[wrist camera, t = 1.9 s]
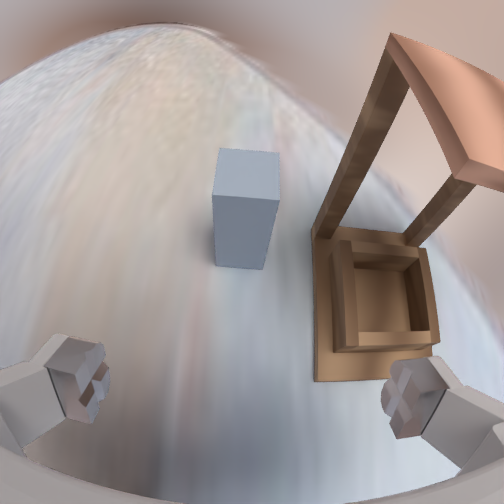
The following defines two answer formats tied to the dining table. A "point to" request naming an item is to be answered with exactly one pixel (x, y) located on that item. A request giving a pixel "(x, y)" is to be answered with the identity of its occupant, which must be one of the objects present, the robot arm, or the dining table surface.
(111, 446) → the dining table surface
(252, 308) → the dining table surface
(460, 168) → the wooden frame stand
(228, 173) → the peg
